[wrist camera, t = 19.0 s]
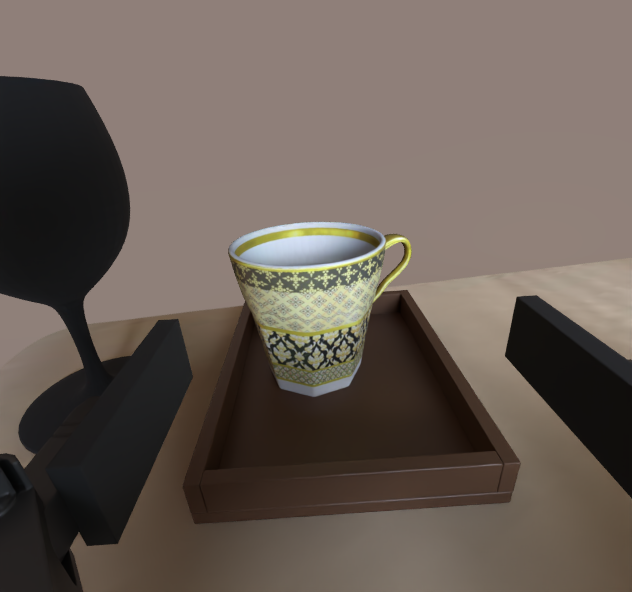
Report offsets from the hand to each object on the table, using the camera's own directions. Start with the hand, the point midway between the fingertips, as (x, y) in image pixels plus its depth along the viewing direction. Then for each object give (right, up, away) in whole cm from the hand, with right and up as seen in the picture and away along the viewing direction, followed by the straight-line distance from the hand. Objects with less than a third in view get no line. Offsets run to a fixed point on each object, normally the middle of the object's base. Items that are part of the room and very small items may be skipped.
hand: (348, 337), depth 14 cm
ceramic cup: (0, -4, +14) cm, 14 cm away
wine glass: (-17, -6, +12) cm, 22 cm away
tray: (0, -5, +12) cm, 13 cm away
